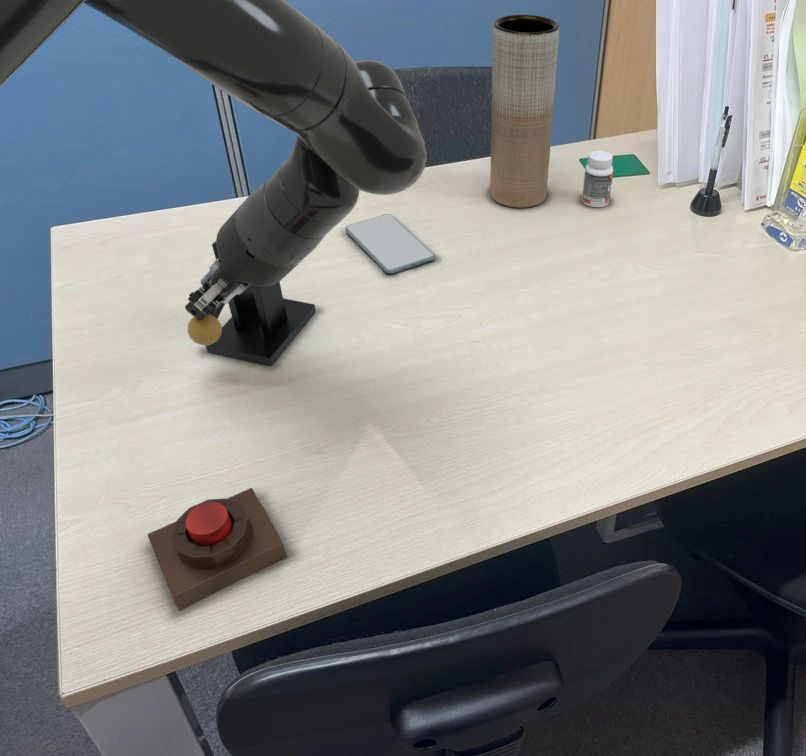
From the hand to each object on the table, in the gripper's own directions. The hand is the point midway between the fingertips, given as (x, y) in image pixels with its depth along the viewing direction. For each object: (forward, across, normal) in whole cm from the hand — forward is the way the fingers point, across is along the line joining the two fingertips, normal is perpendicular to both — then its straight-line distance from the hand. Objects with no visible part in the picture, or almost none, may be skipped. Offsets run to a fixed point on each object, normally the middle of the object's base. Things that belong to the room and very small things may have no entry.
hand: (195, 311), depth 78 cm
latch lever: (+1, -5, +2) cm, 6 cm away
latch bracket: (+7, -10, +8) cm, 14 cm away
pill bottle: (-18, -60, +33) cm, 71 cm away
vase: (-9, -58, +24) cm, 63 cm away
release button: (-5, +22, +14) cm, 27 cm away
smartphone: (+2, -35, +13) cm, 37 cm away
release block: (-3, +22, +17) cm, 28 cm away
